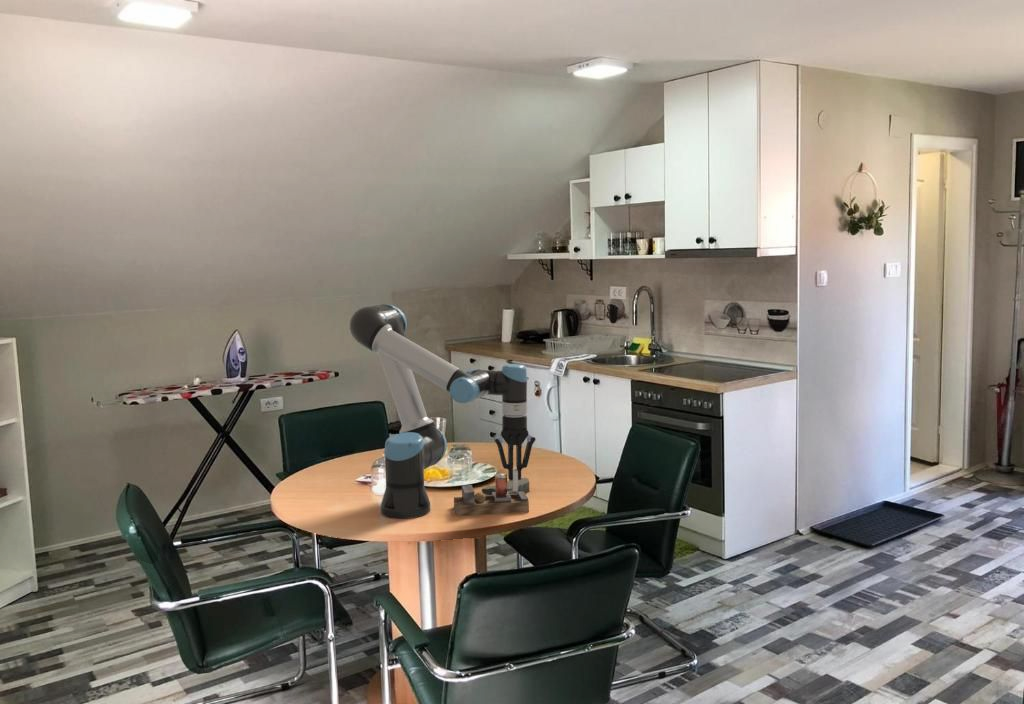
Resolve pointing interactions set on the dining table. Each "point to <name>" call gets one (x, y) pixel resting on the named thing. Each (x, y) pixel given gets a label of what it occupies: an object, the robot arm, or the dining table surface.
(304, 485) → the dining table surface
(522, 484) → the rock
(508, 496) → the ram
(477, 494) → the nut
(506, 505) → the board
